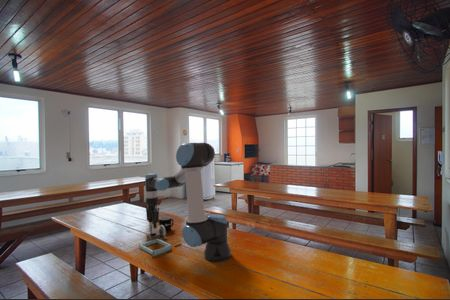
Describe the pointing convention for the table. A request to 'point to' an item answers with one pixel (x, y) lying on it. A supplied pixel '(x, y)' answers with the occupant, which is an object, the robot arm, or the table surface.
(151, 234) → the pin
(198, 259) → the table surface
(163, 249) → the tray
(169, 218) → the mug
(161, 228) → the tensioner block
